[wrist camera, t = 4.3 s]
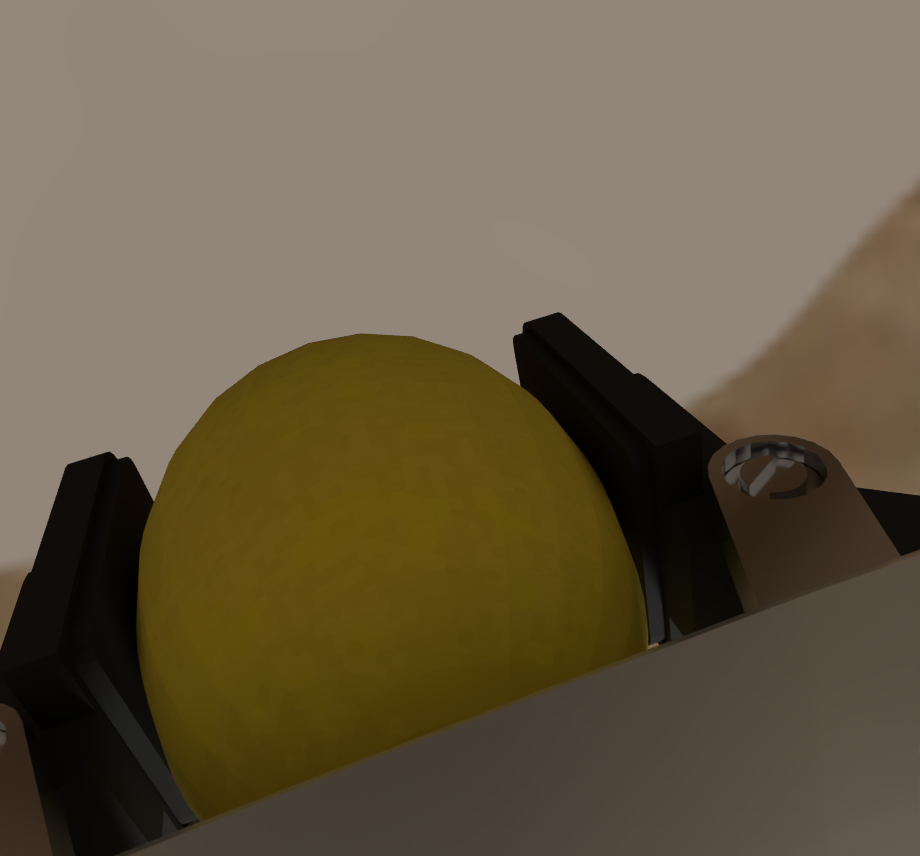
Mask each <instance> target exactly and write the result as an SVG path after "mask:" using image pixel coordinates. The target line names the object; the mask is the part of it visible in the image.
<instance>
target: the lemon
mask: <svg viewBox="0 0 920 856" xmlns="http://www.w3.org/2000/svg"><path fill="white" fill-rule="evenodd" d="M136 637H137V652H138V658H139V664H140V670H141V676H142V681H143V684H144V688H145V692H146V696H147V700H148V704H149V707H150V711H151V714H152V717H153V720H154V723H155V726H156V730H157V733H158V736H159V739H160V742H161V745H162V749H163V752H164V754H165V757H166V760H167V763H168V766H169V768H170V771H171V774H172V777H173V779H174V781H175V783H176V784H177V786H178V788H179V790H180V792H181V794H182V796H183V797H184V799H185V801H186V803H187V805H188V806H189V807H190V808H191V810H192V811H193V812H194V813H195V814H196V816H197V817H198V818H199V819H200V820H201V821H204V820H207V819H209V818H212V817H214V816H217V815H219V814H222V813H224V812H227V811H230V810H232V809H235V808H237V807H240V806H242V805H245V804H247V803H250V802H253V801H255V800H258V799H260V798H263V797H265V796H268V795H270V794H273V793H276V792H278V791H281V790H283V789H286V788H288V787H291V786H293V785H296V784H299V783H301V782H304V781H306V780H309V779H312V778H314V777H317V776H319V775H322V774H325V773H327V772H330V771H332V770H335V769H338V768H340V767H343V766H345V765H348V764H350V763H353V762H356V761H358V760H361V759H363V758H366V757H369V756H371V755H374V754H376V753H379V752H382V751H384V750H387V749H389V748H392V747H394V746H397V745H400V744H402V743H405V742H407V741H410V740H413V739H415V738H418V737H420V736H423V735H426V734H428V733H431V732H433V731H436V730H439V729H441V728H444V727H446V726H449V725H452V724H454V723H457V722H459V721H462V720H465V719H467V718H470V717H472V716H475V715H478V714H480V713H483V712H485V711H488V710H491V709H493V708H496V707H498V706H501V705H504V704H506V703H509V702H511V701H514V700H517V699H519V698H522V697H524V696H527V695H530V694H532V693H535V692H537V691H540V690H543V689H545V688H548V687H550V686H553V685H556V684H558V683H561V682H564V681H566V680H569V679H571V678H574V677H577V676H579V675H582V674H585V673H587V672H590V671H593V670H595V669H598V668H601V667H603V666H606V665H608V664H611V663H614V662H616V661H619V660H622V659H624V658H627V657H630V656H632V655H635V654H638V653H640V652H643V651H645V650H648V625H647V617H646V609H645V600H644V595H643V592H642V588H641V584H640V580H639V576H638V573H637V570H636V567H635V564H634V561H633V559H632V556H631V553H630V550H629V547H628V545H627V542H626V540H625V537H624V535H623V532H622V530H621V527H620V524H619V522H618V519H617V517H616V514H615V512H614V509H613V507H612V504H611V502H610V500H609V498H608V495H607V493H606V491H605V489H604V487H603V485H602V483H601V481H600V479H599V477H598V476H597V474H596V472H595V470H594V469H593V467H592V465H591V464H590V463H589V461H588V460H587V458H586V457H585V456H584V454H583V453H582V451H581V450H580V449H579V448H578V446H577V445H576V444H575V443H574V442H573V440H572V439H571V438H570V437H569V436H568V434H567V433H566V432H565V431H564V429H563V428H562V427H561V426H560V425H559V423H558V422H557V421H556V420H555V419H554V417H553V416H552V415H551V414H550V413H549V412H548V410H547V409H546V408H545V407H544V406H543V405H542V404H541V403H540V402H539V401H538V400H537V399H536V398H535V397H534V396H532V395H531V394H530V393H529V392H527V391H526V390H525V389H524V388H522V387H521V386H519V385H518V384H516V383H514V382H513V381H511V380H510V379H508V378H507V377H505V376H504V375H502V374H501V373H499V372H497V371H496V370H494V369H493V368H491V367H490V366H488V365H486V364H485V363H484V362H482V361H480V360H479V359H477V358H475V357H473V356H472V355H469V354H467V353H464V352H461V351H458V350H454V349H451V348H448V347H445V346H442V345H439V344H435V343H432V342H429V341H425V340H422V339H419V338H416V337H413V336H394V335H377V334H355V335H350V336H344V337H340V338H334V339H329V340H323V341H318V342H312V343H308V344H306V345H303V346H301V347H299V348H297V349H295V350H292V351H290V352H288V353H286V354H284V355H281V356H279V357H277V358H275V359H272V360H270V361H268V362H266V363H264V364H261V365H259V366H258V367H256V368H255V369H254V370H252V371H251V372H250V373H248V374H247V375H246V376H244V377H243V378H242V379H241V380H239V381H238V382H237V383H236V384H234V385H233V386H232V387H230V388H229V389H228V390H226V391H225V392H224V393H222V394H221V395H220V396H219V397H217V398H216V399H215V400H214V401H213V403H212V404H211V405H210V406H209V408H208V409H207V410H206V412H205V413H204V414H203V415H202V417H201V418H200V419H199V421H198V422H197V423H196V424H195V426H194V427H193V429H192V430H191V431H190V432H189V434H188V435H187V436H186V438H185V439H184V440H183V441H182V443H181V444H180V445H179V447H178V448H177V449H176V451H175V453H174V455H173V457H172V458H171V460H170V462H169V464H168V467H167V469H166V472H165V475H164V478H163V480H162V483H161V485H160V488H159V490H158V493H157V496H156V498H155V501H154V503H153V506H152V509H151V511H150V514H149V517H148V520H147V523H146V526H145V529H144V532H143V537H142V543H141V548H140V557H139V576H138V595H137V615H136Z"/></svg>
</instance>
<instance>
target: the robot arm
mask: <svg viewBox="0 0 920 856" xmlns="http://www.w3.org/2000/svg"><path fill="white" fill-rule="evenodd" d="M513 345H514V352H515V358H516V363H517V368H518V374H519V380H520V386H521V387H522V388H524V389H525V390H526V391H527V392H529V393H530V394H531V395H532V396H534V397H535V398H536V399H537V400H538V401H539V402H540V403H541V404H542V405H543V406H544V407H545V408H546V409H547V410H548V412H549V413H550V414H551V415H552V416H553V417H554V419H555V420H556V421H557V422H558V423H559V425H560V426H561V427H562V428H563V429H564V431H565V432H566V433H567V434H568V436H569V437H570V438H571V439H572V440H573V442H574V443H575V444H576V445H577V446H578V448H579V449H580V450H581V451H582V453H583V454H584V456H585V457H586V458H587V460H588V461H589V463H590V464H591V465H592V467H593V469H594V470H595V472H596V474H597V476H598V477H599V479H600V481H601V483H602V485H603V487H604V489H605V491H606V493H607V495H608V498H609V500H610V502H611V504H612V507H613V509H614V512H615V514H616V517H617V519H618V522H619V524H620V527H621V530H622V532H623V535H624V537H625V540H626V542H627V545H628V547H629V550H630V553H631V556H632V559H633V561H634V564H635V567H636V570H637V573H638V576H639V580H640V584H641V588H642V592H643V595H644V600H645V609H646V617H647V625H648V645H651V644H654V643H657V642H658V644H659V646H656V647H653V648H651V649H648V650H645V651H643V652H640V653H638V654H635V655H632V656H630V657H627V658H624V659H622V660H619V661H616V662H614V663H611V664H608V665H606V666H603V667H601V668H598V669H595V670H593V671H590V672H587V673H585V674H582V675H579V676H577V677H574V678H571V679H569V680H566V681H564V682H561V683H558V684H556V685H553V686H550V687H548V688H545V689H543V690H540V691H537V692H535V693H532V694H530V695H527V696H524V697H522V698H519V699H517V700H514V701H511V702H509V703H506V704H504V705H501V706H498V707H496V708H493V709H491V710H488V711H485V712H483V713H480V714H478V715H475V716H472V717H470V718H467V719H465V720H462V721H459V722H457V723H454V724H452V725H449V726H446V727H444V728H441V729H439V730H436V731H433V732H431V733H428V734H426V735H423V736H420V737H418V738H415V739H413V740H410V741H407V742H405V743H402V744H400V745H397V746H394V747H392V748H389V749H387V750H384V751H382V752H379V753H376V754H374V755H371V756H369V757H366V758H363V759H361V760H358V761H356V762H353V763H350V764H348V765H345V766H343V767H340V768H338V769H335V770H332V771H330V772H327V773H325V774H322V775H319V776H317V777H314V778H312V779H309V780H306V781H304V782H301V783H299V784H296V785H293V786H291V787H288V788H286V789H283V790H281V791H278V792H276V793H273V794H270V795H268V796H265V797H263V798H260V799H258V800H255V801H253V802H250V803H247V804H245V805H242V806H240V807H237V808H235V809H232V810H230V811H227V812H224V813H222V814H219V815H217V816H214V817H212V818H209V819H207V820H204V821H201V822H199V823H196V824H194V825H193V821H194V820H197V819H199V818H198V817H197V816H196V814H195V813H194V812H193V811H192V810H191V808H190V807H189V806H188V805H187V803H186V801H185V799H184V797H183V796H182V794H181V792H180V790H179V788H178V786H177V784H176V783H175V781H174V779H173V777H172V774H171V771H170V768H169V766H168V763H167V760H166V757H165V754H164V752H163V749H162V745H161V742H160V739H159V736H158V733H157V730H156V726H155V723H154V720H153V717H152V714H151V711H150V707H149V704H148V700H147V696H146V692H145V688H144V684H143V681H142V676H141V670H140V664H139V658H138V652H137V637H136V615H137V595H138V576H139V557H140V548H141V543H142V537H143V532H144V529H145V526H146V523H147V520H148V517H149V514H150V511H151V509H152V506H153V503H154V501H153V499H152V497H151V495H150V493H149V492H148V489H147V488H146V485H145V484H144V482H143V480H142V478H141V476H140V474H139V472H138V470H137V468H136V466H135V465H134V463H133V461H132V460H131V459H130V458H129V457H124V458H121V459H117V458H116V457H115V456H114V454H112V453H111V452H106V453H103V454H100V455H96V456H93V457H90V458H87V459H83V460H80V461H77V462H74V463H71V464H68V465H67V466H66V468H65V471H64V474H63V477H62V480H61V483H60V486H59V489H58V492H57V495H56V498H55V501H54V504H53V507H52V510H51V513H50V516H49V520H48V523H47V526H46V529H45V532H44V535H43V538H42V541H41V544H40V547H39V550H38V553H37V556H36V559H35V562H34V565H33V568H32V571H31V572H30V573H28V574H27V576H26V578H25V580H24V582H23V585H22V588H21V591H20V594H19V597H18V600H17V603H16V606H15V609H14V611H13V614H12V617H11V620H10V623H9V626H8V629H7V632H6V635H5V638H4V641H3V644H2V647H1V650H0V856H920V496H919V495H911V494H903V493H895V492H887V491H880V490H872V489H864V488H856V486H855V485H854V483H853V482H852V480H851V479H850V477H849V476H848V474H847V472H846V471H845V469H844V468H843V466H842V465H841V463H840V462H839V460H838V459H837V458H836V457H835V456H834V455H833V454H832V453H831V452H830V451H829V450H827V449H825V448H824V447H822V446H820V445H818V444H816V443H814V442H812V441H808V440H805V439H802V438H798V437H794V436H786V435H777V434H772V435H755V436H750V437H746V438H741V439H737V440H735V441H733V442H731V443H729V444H726V443H725V442H724V441H723V440H721V439H720V438H719V437H718V436H716V435H715V434H714V433H713V432H712V431H710V430H709V429H708V428H707V427H706V426H704V425H703V424H702V423H701V422H700V421H698V420H697V419H696V418H695V417H693V416H692V415H691V414H690V413H689V412H687V411H686V410H685V409H684V408H683V407H681V406H680V405H679V404H678V403H677V402H675V401H674V400H673V399H672V398H670V397H669V396H668V395H667V394H665V393H664V392H663V391H662V390H661V389H660V388H658V387H657V386H656V385H655V384H654V383H652V382H651V381H650V380H649V379H647V378H646V377H645V376H643V375H641V374H639V373H637V374H633V373H632V372H630V371H629V370H628V369H627V368H625V367H624V366H623V365H622V364H621V363H620V362H619V361H617V360H616V359H615V358H614V357H613V356H611V355H610V354H609V353H608V352H606V350H604V349H603V348H602V347H601V346H600V345H598V344H597V343H596V342H595V341H594V340H592V339H591V338H590V337H589V336H588V335H587V334H585V333H584V332H583V331H582V330H580V329H579V328H578V327H577V326H576V325H574V324H573V323H572V322H571V321H570V320H569V319H568V318H566V317H565V316H564V315H563V314H561V313H559V312H558V313H554V314H551V315H548V316H545V317H542V318H538V319H535V320H532V321H529V322H526V323H524V324H523V333H522V334H518V335H515V336H514V338H513Z"/></svg>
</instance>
